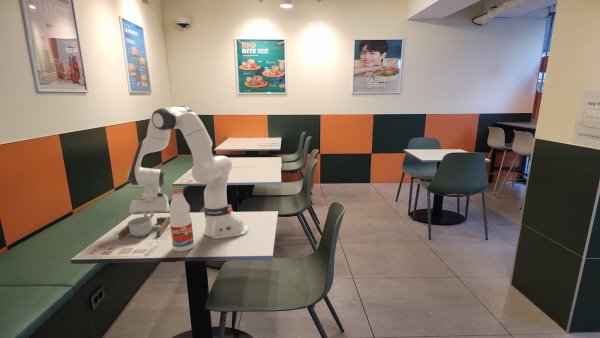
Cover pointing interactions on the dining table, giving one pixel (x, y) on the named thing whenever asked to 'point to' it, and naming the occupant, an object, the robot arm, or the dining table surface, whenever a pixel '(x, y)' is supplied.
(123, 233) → the wooden l-brackets
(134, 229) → the teacup
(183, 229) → the fruit juice
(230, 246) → the dining table surface
